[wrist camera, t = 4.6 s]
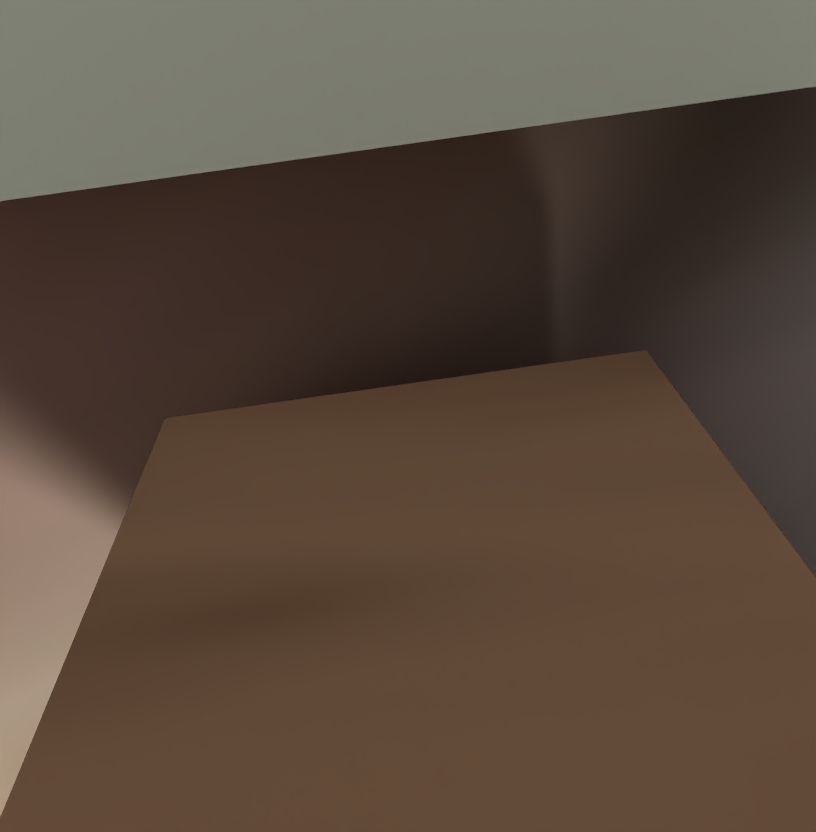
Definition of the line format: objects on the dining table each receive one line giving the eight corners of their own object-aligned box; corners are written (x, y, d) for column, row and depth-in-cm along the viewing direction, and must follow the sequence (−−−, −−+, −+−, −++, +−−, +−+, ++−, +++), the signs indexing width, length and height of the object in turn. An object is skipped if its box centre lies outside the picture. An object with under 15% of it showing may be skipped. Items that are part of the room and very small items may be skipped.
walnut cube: (625, 661, 12) (822, 1172, 7) (275, 708, 12) (217, 1246, 7) (645, 350, 9) (1050, 889, 4) (165, 417, 9) (-89, 1037, 4)
